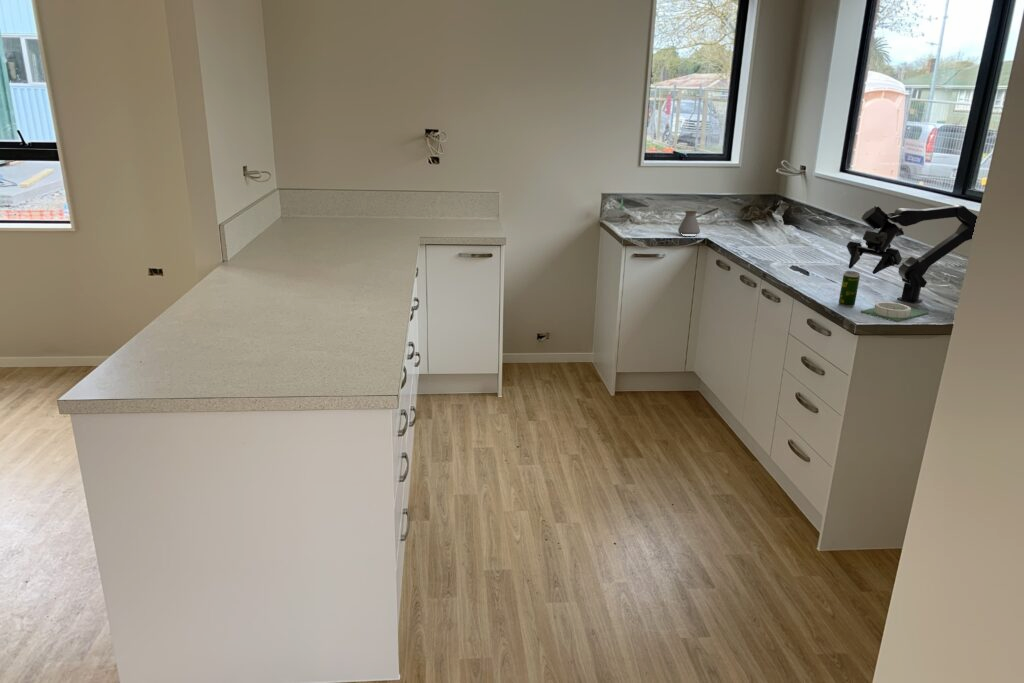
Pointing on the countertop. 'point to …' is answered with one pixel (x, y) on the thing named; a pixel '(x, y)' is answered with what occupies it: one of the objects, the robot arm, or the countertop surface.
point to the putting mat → (912, 314)
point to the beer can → (849, 288)
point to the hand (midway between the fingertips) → (861, 270)
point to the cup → (892, 309)
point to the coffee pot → (691, 222)
